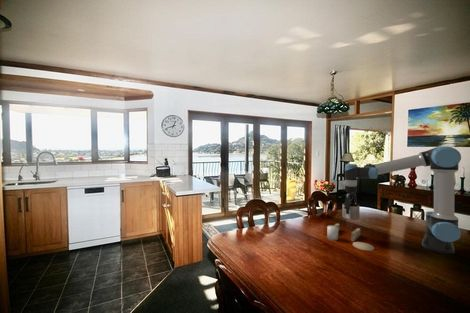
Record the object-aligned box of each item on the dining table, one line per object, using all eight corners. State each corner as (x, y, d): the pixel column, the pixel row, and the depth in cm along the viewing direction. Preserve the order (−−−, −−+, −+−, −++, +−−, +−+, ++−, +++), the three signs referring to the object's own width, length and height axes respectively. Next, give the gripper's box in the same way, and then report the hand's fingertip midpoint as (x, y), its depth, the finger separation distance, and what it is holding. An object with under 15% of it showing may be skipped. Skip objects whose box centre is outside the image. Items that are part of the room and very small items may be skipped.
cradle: (360, 235, 155) (360, 228, 155) (354, 241, 146) (354, 233, 145) (336, 229, 167) (336, 223, 167) (329, 234, 157) (329, 227, 157)
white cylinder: (339, 238, 150) (339, 227, 150) (335, 241, 145) (335, 229, 145) (329, 235, 155) (329, 224, 155) (325, 238, 150) (325, 227, 150)
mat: (376, 246, 137) (376, 245, 137) (371, 252, 129) (371, 252, 129) (355, 241, 146) (355, 240, 146) (350, 246, 137) (350, 245, 137)
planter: (358, 221, 142) (358, 207, 142) (340, 218, 149) (340, 205, 149) (360, 217, 151) (360, 204, 151) (344, 215, 158) (344, 202, 158)
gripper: (350, 183, 160) (350, 212, 161) (338, 187, 144) (338, 219, 145) (362, 184, 155) (361, 214, 155) (350, 188, 139) (350, 221, 139)
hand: (350, 216), depth 150 cm, fingers closed on planter, 11 cm apart
